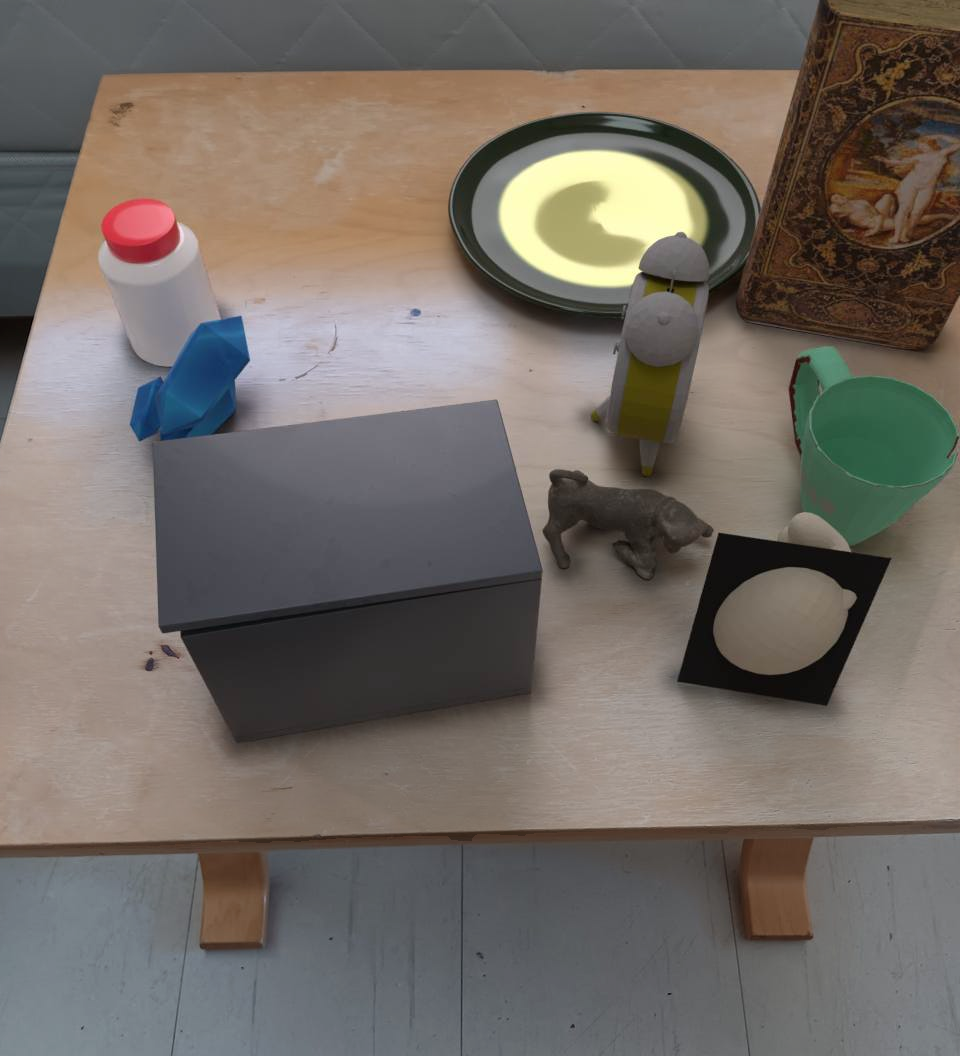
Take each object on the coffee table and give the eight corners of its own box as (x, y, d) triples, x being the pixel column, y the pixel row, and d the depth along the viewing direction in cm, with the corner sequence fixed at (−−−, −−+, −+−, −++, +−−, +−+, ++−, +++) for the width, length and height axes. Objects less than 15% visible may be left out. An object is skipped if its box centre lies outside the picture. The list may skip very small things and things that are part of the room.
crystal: (86, 400, 71) (177, 271, 74) (139, 459, 79) (219, 341, 82) (170, 439, 69) (259, 305, 72) (215, 495, 77) (294, 373, 80)
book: (732, 319, 84) (818, 12, 63) (740, 277, 87) (825, -32, 65) (929, 354, 82) (1089, 48, 61) (931, 309, 85) (1085, 1, 63)
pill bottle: (192, 289, 86) (156, 175, 77) (240, 338, 83) (209, 225, 74) (113, 329, 84) (66, 217, 74) (160, 381, 81) (117, 270, 71)
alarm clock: (664, 489, 75) (703, 339, 62) (576, 473, 76) (596, 322, 63) (684, 380, 81) (724, 221, 68) (602, 366, 82) (625, 206, 69)
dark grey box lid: (162, 634, 52) (158, 626, 52) (155, 450, 59) (152, 441, 58) (542, 578, 55) (543, 570, 54) (496, 408, 61) (497, 398, 60)
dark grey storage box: (236, 743, 65) (180, 637, 53) (224, 582, 71) (172, 455, 59) (531, 692, 67) (542, 579, 55) (494, 540, 73) (497, 408, 61)
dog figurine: (534, 562, 72) (539, 499, 66) (552, 501, 75) (559, 434, 68) (697, 600, 70) (719, 539, 64) (710, 536, 73) (732, 471, 67)
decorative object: (680, 609, 72) (819, 630, 72) (675, 712, 65) (830, 737, 64) (718, 462, 64) (877, 484, 63) (718, 562, 56) (897, 589, 55)
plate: (752, 354, 82) (759, 331, 80) (422, 317, 85) (421, 294, 82) (758, 148, 96) (765, 124, 94) (475, 121, 98) (475, 96, 96)
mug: (929, 555, 72) (990, 466, 64) (808, 590, 71) (853, 504, 62) (833, 412, 79) (876, 314, 71) (721, 441, 78) (751, 344, 69)
